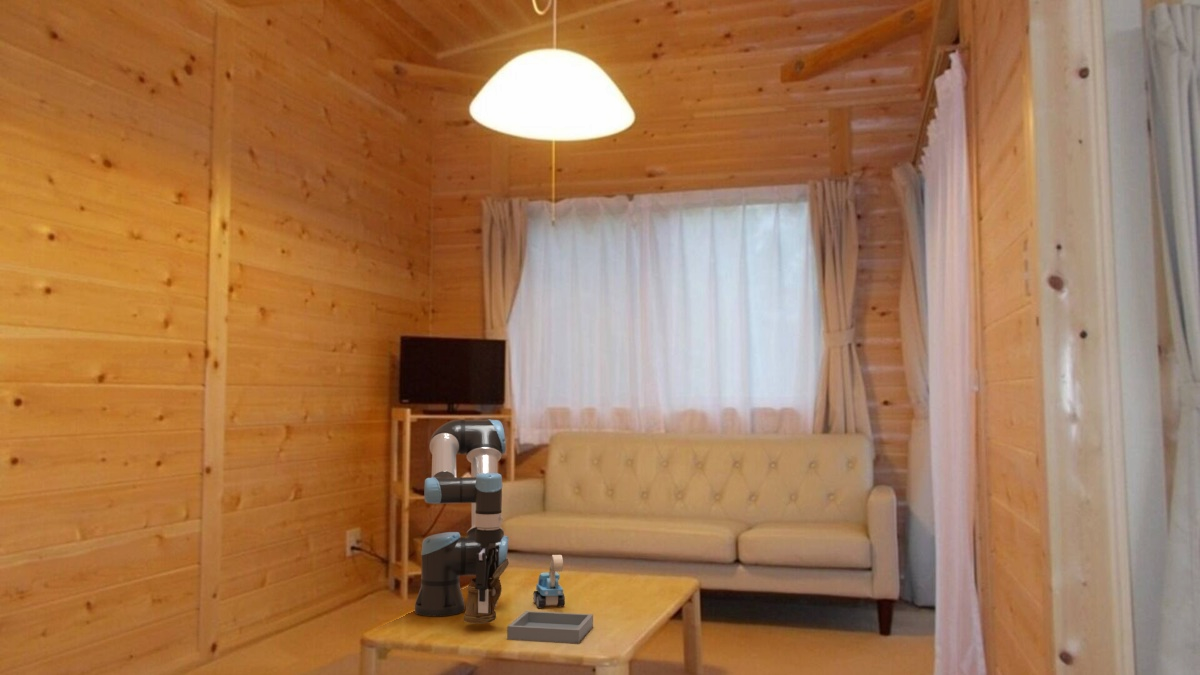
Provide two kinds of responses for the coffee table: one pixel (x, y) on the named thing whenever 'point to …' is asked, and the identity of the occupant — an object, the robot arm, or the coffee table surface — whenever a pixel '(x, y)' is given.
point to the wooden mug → (472, 599)
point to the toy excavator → (550, 586)
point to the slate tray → (550, 627)
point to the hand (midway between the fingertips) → (487, 609)
